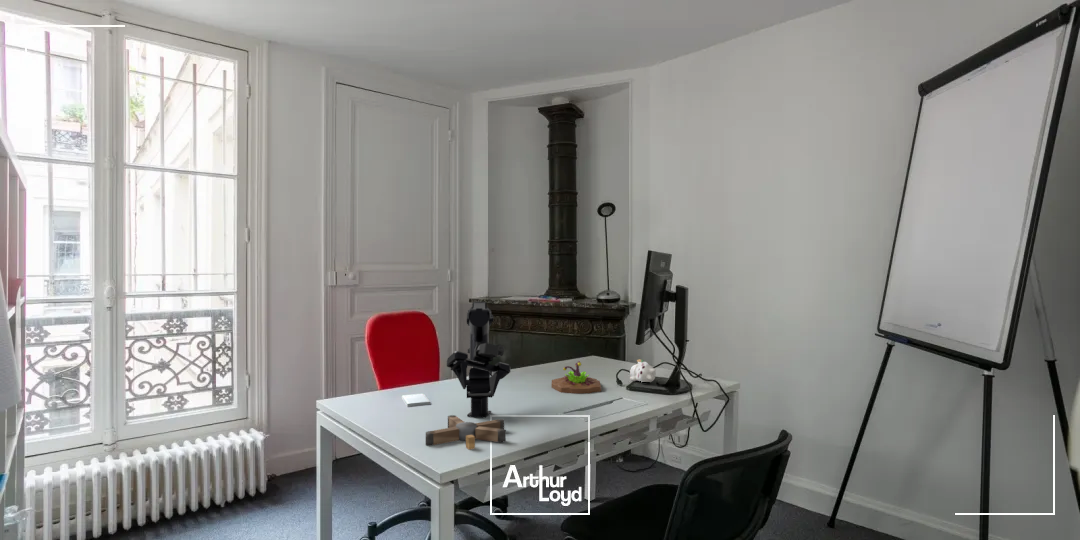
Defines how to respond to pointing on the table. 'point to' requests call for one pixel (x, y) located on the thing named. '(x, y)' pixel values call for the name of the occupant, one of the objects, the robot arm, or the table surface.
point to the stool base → (460, 431)
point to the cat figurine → (642, 372)
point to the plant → (576, 382)
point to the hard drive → (415, 400)
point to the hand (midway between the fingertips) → (479, 391)
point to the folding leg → (490, 434)
